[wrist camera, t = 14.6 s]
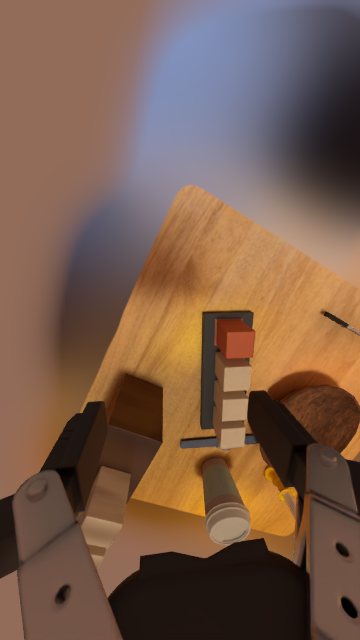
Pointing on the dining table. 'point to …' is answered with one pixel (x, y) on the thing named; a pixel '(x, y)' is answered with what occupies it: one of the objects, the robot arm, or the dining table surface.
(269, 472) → the candle
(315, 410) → the bowl
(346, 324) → the knife
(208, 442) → the wristwatch
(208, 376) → the far board
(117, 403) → the stand
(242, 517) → the coffee cup
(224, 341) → the red-brown rectangular block
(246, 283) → the dining table surface
